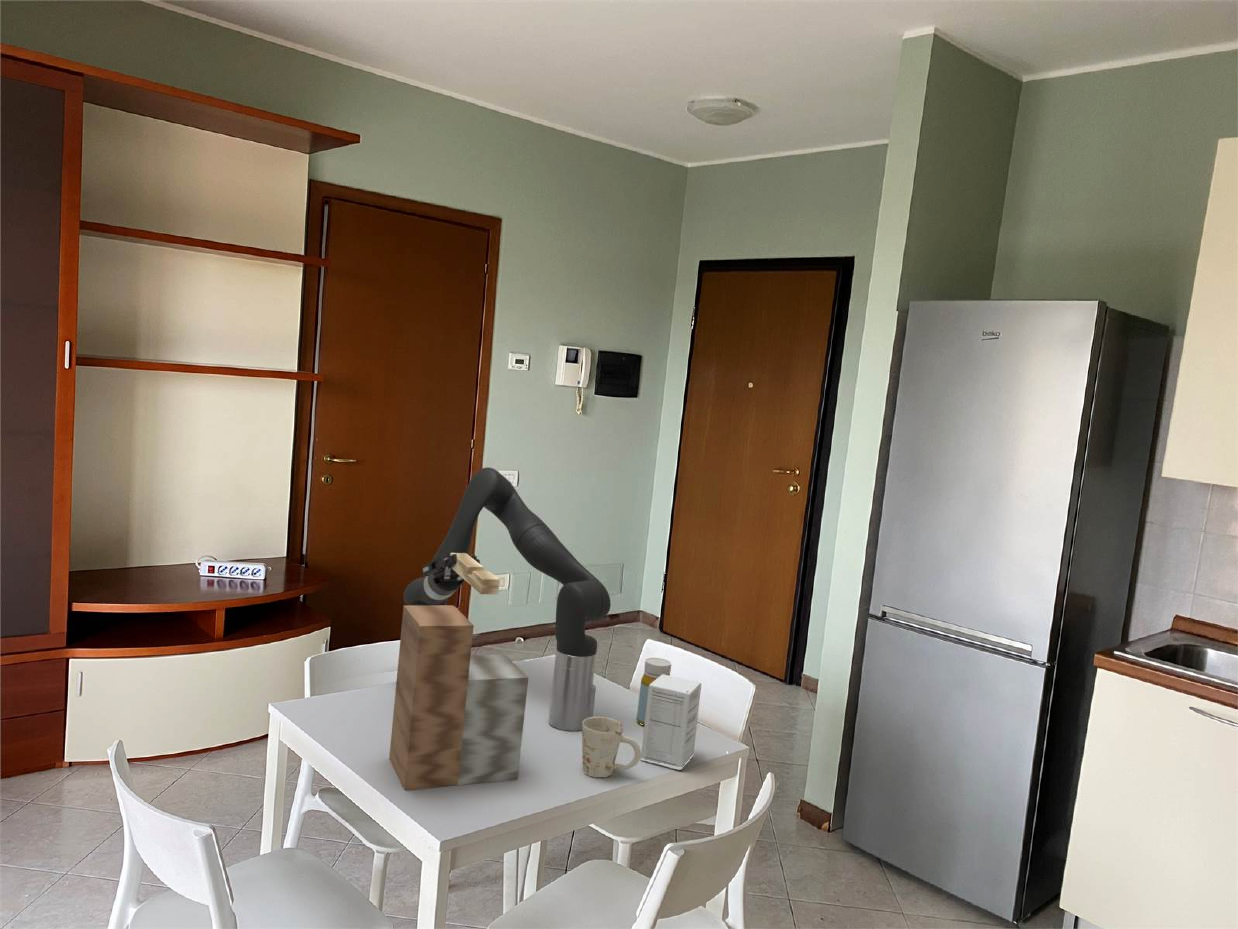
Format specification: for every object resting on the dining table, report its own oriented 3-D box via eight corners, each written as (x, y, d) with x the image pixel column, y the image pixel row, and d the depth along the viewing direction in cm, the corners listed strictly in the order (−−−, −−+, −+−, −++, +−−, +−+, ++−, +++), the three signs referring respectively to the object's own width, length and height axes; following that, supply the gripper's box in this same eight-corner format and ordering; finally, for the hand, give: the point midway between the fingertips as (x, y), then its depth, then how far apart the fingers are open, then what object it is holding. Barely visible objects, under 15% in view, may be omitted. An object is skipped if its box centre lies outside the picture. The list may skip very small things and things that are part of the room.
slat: (464, 566, 200) (466, 553, 200) (498, 594, 179) (499, 579, 179) (449, 566, 199) (450, 552, 199) (480, 594, 177) (482, 579, 177)
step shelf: (495, 750, 189) (510, 605, 186) (517, 779, 176) (534, 624, 173) (389, 758, 179) (403, 605, 176) (404, 790, 167) (420, 626, 164)
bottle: (663, 731, 210) (670, 668, 208) (633, 725, 211) (641, 663, 210) (667, 721, 217) (675, 660, 215) (639, 715, 218) (646, 655, 217)
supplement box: (694, 757, 197) (703, 682, 195) (681, 772, 188) (691, 694, 187) (653, 746, 200) (662, 672, 199) (638, 761, 192) (648, 684, 190)
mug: (581, 760, 189) (586, 714, 188) (640, 770, 187) (646, 723, 186) (573, 776, 180) (579, 728, 179) (635, 787, 179) (641, 738, 178)
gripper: (412, 564, 207) (431, 540, 193) (472, 565, 213) (495, 542, 199) (413, 596, 204) (433, 574, 190) (473, 596, 211) (497, 575, 197)
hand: (464, 558), depth 195 cm, fingers closed on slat, 3 cm apart
